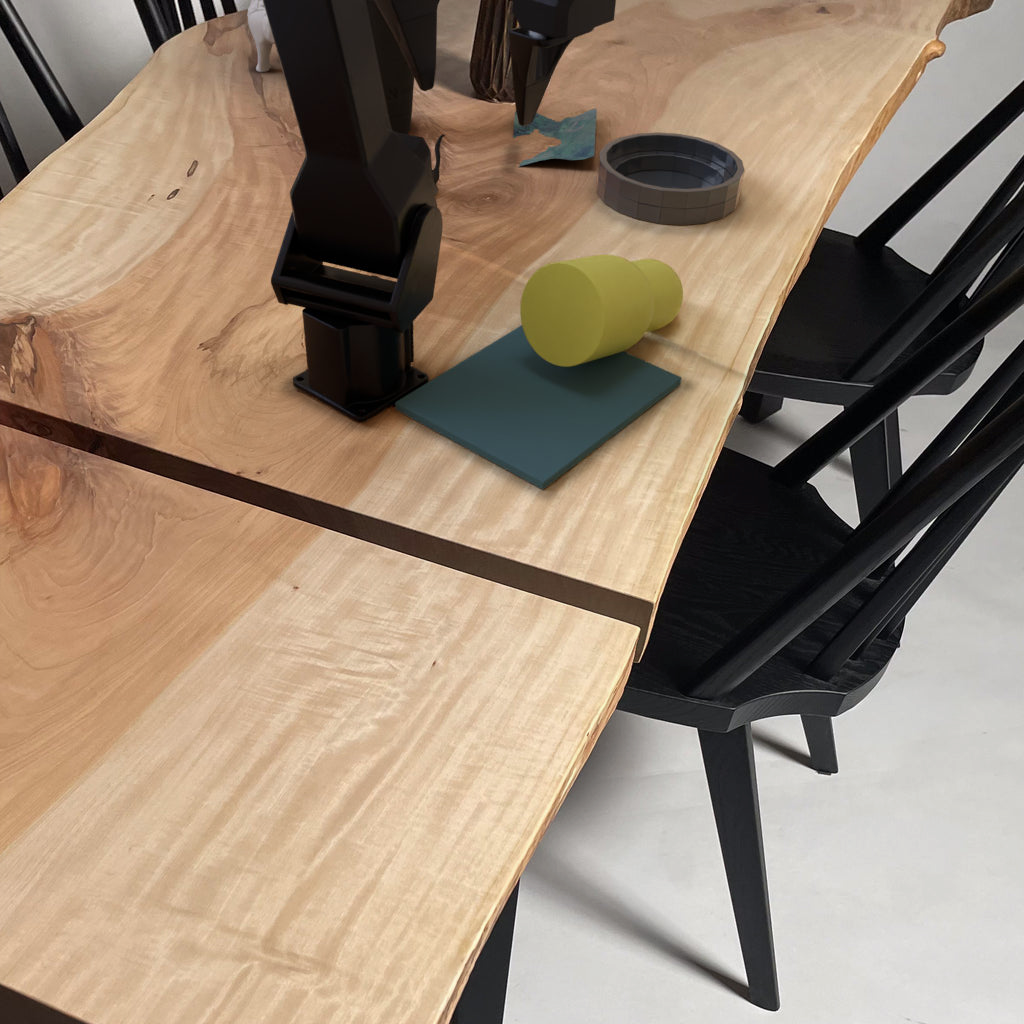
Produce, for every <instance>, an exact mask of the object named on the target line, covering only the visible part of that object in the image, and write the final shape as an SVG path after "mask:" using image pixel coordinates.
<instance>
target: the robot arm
mask: <svg viewBox="0 0 1024 1024" xmlns="http://www.w3.org/2000/svg"><path fill="white" fill-rule="evenodd" d="M374 1H375V3H376V4H377V6H378V8H379V10H380V11H381V13H382V15H383V17H384V19H385V20H386V22H387V24H388V26H389V27H390V29H391V31H392V33H393V35H394V37H395V39H396V41H397V43H398V44H399V47H400V49H401V51H402V53H403V55H404V57H405V59H406V61H407V63H408V65H409V67H410V69H411V72H412V74H413V76H414V81H415V82H416V84H417V86H418V88H419V90H420V91H422V92H428V91H430V90H432V89H433V88H434V86H435V79H436V70H437V40H438V39H437V38H438V37H437V36H438V34H437V33H438V6H439V4H440V1H441V0H374ZM508 1H509V2H512V5H511V7H512V8H511V13H512V14H513V16H514V19H516V22H517V23H518V25H519V26H517V27H515V28H512V29H508V41H509V53H510V61H511V62H510V63H511V72H512V73H511V74H512V84H513V97H514V106H515V111H516V112H517V117H518V122H519V125H521V126H526V125H529V124H531V123H532V122H533V120H534V118H535V115H536V113H538V111H539V108H540V105H541V104H542V101H543V99H544V96H545V94H546V92H547V89H548V87H549V84H550V82H551V80H552V77H553V75H554V72H555V70H556V67H557V66H558V64H559V62H560V60H561V59H562V57H563V55H564V53H565V51H566V49H567V48H568V46H569V45H570V44H571V43H572V42H573V41H574V40H575V39H576V38H578V37H581V36H584V35H586V34H590V33H591V32H593V31H594V30H595V28H597V27H600V26H602V25H605V24H608V23H611V22H614V21H615V15H616V4H617V0H508ZM263 3H264V7H265V10H266V14H267V17H268V21H269V24H270V28H271V31H272V35H273V39H274V42H275V44H274V46H275V50H276V52H277V56H278V60H279V63H280V66H281V70H282V73H283V77H284V81H285V84H286V87H287V92H288V96H289V98H290V103H291V105H292V109H293V113H294V116H295V119H296V123H297V124H296V125H297V126H298V130H299V135H300V137H301V142H302V145H303V150H304V154H305V156H304V159H303V161H302V164H301V166H300V168H299V170H298V172H297V175H296V177H295V180H294V181H293V184H292V186H291V188H290V191H289V199H290V204H291V209H292V210H291V212H290V213H291V214H290V216H289V220H288V223H287V226H286V230H285V232H284V235H283V239H282V242H281V245H280V248H279V252H278V255H277V258H276V261H275V264H274V267H273V271H272V274H271V277H270V284H271V287H272V289H273V292H274V294H275V298H276V300H277V303H279V304H281V305H287V306H288V305H292V306H296V307H300V308H303V309H302V310H301V311H302V323H303V324H302V325H303V333H304V334H303V335H304V345H305V355H306V367H307V369H306V370H304V371H302V372H300V373H299V374H296V375H295V376H293V377H292V385H293V387H294V388H295V389H297V390H299V391H301V392H303V393H304V394H305V395H308V396H310V397H312V398H313V399H315V400H316V401H319V402H320V403H322V404H324V405H325V406H327V407H329V408H331V409H333V410H335V411H336V412H338V413H340V414H341V415H343V416H345V417H346V418H349V419H351V420H352V421H354V422H356V423H361V424H362V423H367V421H370V420H371V419H373V418H374V417H376V416H377V415H379V414H381V413H383V412H384V411H386V410H388V409H389V408H391V407H392V406H395V402H397V401H398V400H400V399H401V398H403V397H405V396H406V395H408V394H410V393H411V392H413V391H415V390H416V389H418V388H420V387H421V386H423V385H424V384H426V383H428V382H429V381H430V380H429V379H430V377H429V374H428V373H426V372H425V371H422V370H420V369H418V368H417V367H414V366H413V365H412V364H413V363H414V361H415V350H414V348H415V347H414V321H415V320H416V319H417V318H418V317H419V316H420V314H422V312H423V311H424V310H425V309H426V308H427V306H428V305H429V304H431V302H433V299H434V294H435V289H436V288H435V286H436V282H437V281H436V279H437V273H438V266H439V258H440V252H441V251H440V250H441V244H442V236H443V229H444V228H443V215H442V212H441V210H440V208H438V203H437V199H436V196H438V194H439V187H438V185H437V183H436V184H435V181H434V177H433V173H432V170H433V165H432V164H433V163H432V151H431V149H430V147H429V145H428V143H427V141H426V139H425V138H424V137H422V136H419V135H413V134H409V133H407V134H404V133H398V132H394V131H393V130H392V128H391V125H390V121H389V116H388V111H387V106H386V100H385V95H384V90H383V85H382V80H381V75H380V70H379V65H378V60H377V55H376V50H375V45H374V40H373V34H372V29H371V24H370V19H369V14H368V9H367V4H366V0H263ZM324 263H327V264H330V265H326V264H324ZM331 265H336V266H340V267H344V268H348V269H352V270H347V269H343V268H339V267H335V266H331ZM353 270H355V271H353ZM357 271H361V272H366V273H370V274H373V275H370V274H364V273H360V272H357ZM380 276H382V277H387V278H391V279H396V280H391V279H387V278H382V277H380Z"/></svg>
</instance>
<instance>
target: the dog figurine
mask: <svg viewBox="0 0 1024 1024" xmlns="http://www.w3.org/2000/svg"><path fill="white" fill-rule="evenodd" d="M246 17H247V24H248V27H249V31H250V33H251V35H252V37H253V40H254V43H255V47H256V51H257V65H256V67H255V70H256V71H257V72H259V73H264V72H268V71H270V68H271V67H272V64H271V61H270V57H271V56H270V55H271V52H272V48H273V45H275V42H274V39H273V35H272V31H271V28H270V24H269V21H268V17H267V14H266V10H265V7H264V3H263V0H250V4H249V7H248V8H247V15H246Z"/></svg>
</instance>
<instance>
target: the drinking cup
mask: <svg viewBox="0 0 1024 1024" xmlns="http://www.w3.org/2000/svg"><path fill="white" fill-rule="evenodd" d="M366 4H367V9H368V14H369V19H370V24H371V29H372V34H373V40H374V45H375V50H376V55H377V60H378V65H379V70H380V75H381V80H382V85H383V90H384V95H385V100H386V106H387V111H388V116H389V121H390V125H391V128H392V130H393V131H394V132H398V133H404V134H409V133H410V132H411V130H412V116H413V103H414V101H413V100H414V90H415V89H414V88H415V87H414V85H415V78H414V76H413V74H412V72H411V69H410V67H409V65H408V63H407V61H406V59H405V57H404V55H403V53H402V51H401V49H400V47H399V44H398V43H397V41H396V39H395V37H394V35H393V33H392V31H391V29H390V27H389V26H388V24H387V22H386V20H385V19H384V17H383V15H382V13H381V11H380V10H379V8H378V6H377V4H376V3H375V1H374V0H366Z"/></svg>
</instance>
